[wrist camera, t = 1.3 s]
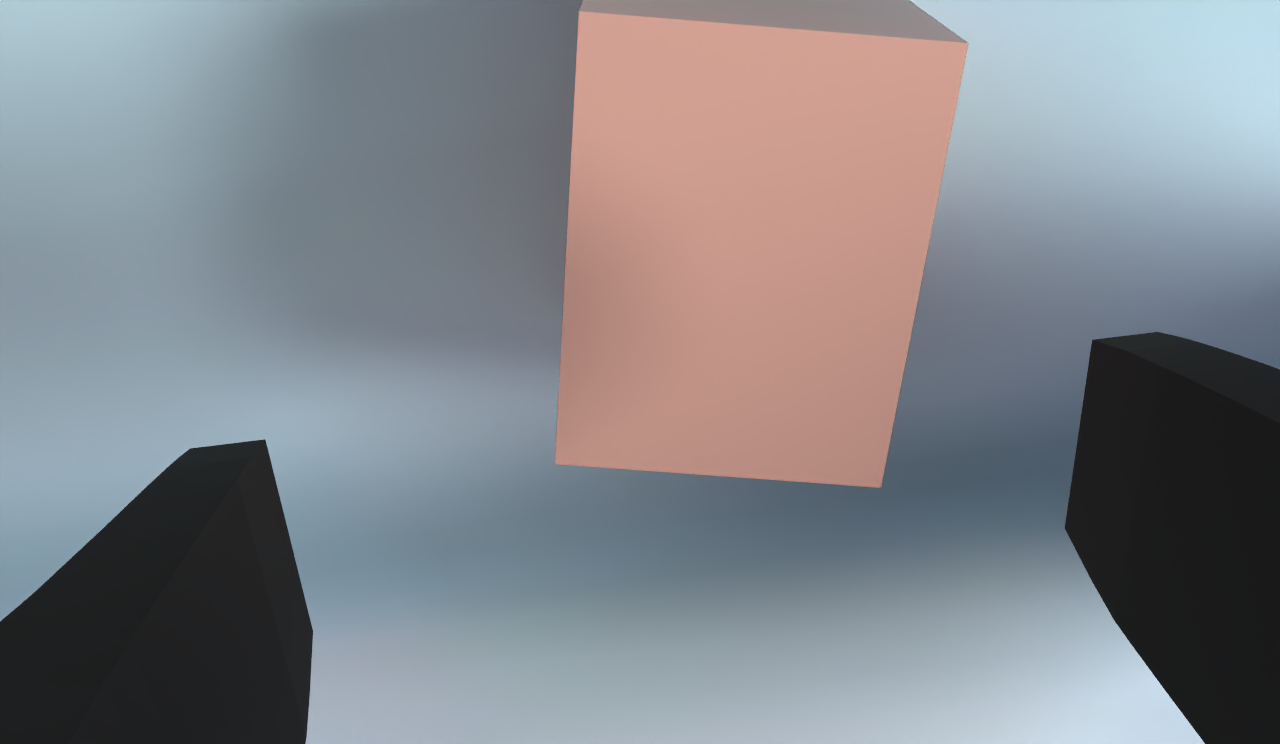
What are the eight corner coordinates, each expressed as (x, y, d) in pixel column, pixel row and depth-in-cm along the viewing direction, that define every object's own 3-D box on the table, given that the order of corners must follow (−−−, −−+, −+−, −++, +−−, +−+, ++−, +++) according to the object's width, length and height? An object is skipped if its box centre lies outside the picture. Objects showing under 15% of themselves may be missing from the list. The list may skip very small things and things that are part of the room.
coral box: (888, -16, 18) (967, 43, 13) (830, 339, 20) (880, 488, 16) (597, -39, 18) (578, 10, 13) (576, 320, 20) (554, 464, 16)
